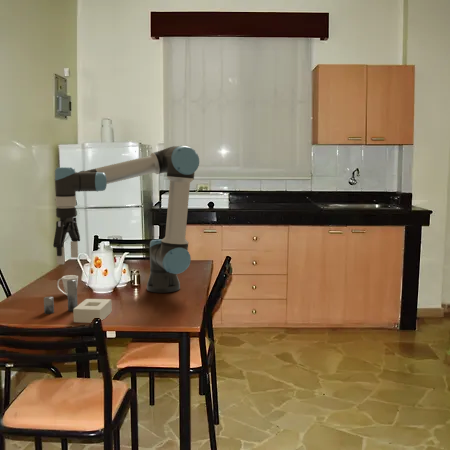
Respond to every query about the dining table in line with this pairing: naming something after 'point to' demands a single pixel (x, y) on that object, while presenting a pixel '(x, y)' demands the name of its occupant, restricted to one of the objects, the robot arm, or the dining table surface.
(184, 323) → the dining table surface
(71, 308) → the long pin
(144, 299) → the dining table surface
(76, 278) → the cup
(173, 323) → the dining table surface
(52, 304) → the short pin
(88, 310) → the hole block
